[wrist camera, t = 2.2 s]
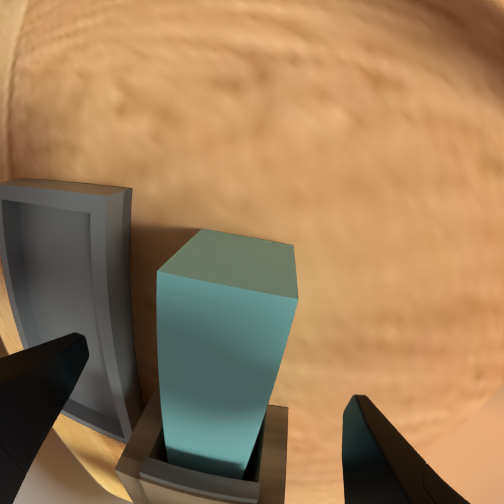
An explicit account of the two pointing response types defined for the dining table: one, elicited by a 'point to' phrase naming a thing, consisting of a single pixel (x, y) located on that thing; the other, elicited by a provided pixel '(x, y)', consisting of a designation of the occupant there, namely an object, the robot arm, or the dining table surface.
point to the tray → (76, 288)
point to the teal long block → (221, 345)
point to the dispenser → (197, 483)
